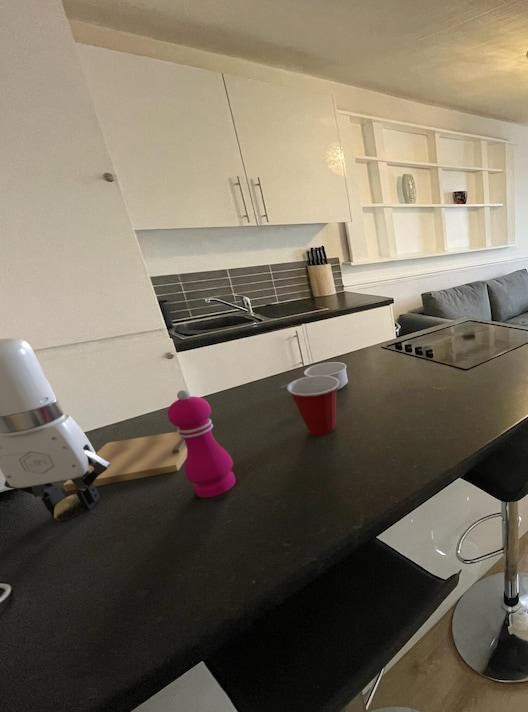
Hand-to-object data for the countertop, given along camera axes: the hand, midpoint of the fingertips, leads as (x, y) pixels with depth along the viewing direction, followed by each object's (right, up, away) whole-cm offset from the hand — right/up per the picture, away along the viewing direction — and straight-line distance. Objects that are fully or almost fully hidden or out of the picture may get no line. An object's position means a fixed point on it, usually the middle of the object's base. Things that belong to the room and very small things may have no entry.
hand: (76, 507), depth 72 cm
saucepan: (+23, +18, +44) cm, 53 cm away
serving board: (-1, +6, +14) cm, 16 cm away
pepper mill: (+21, +2, +5) cm, 22 cm away
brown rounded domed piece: (0, 0, 0) cm, 1 cm away
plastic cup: (+33, +10, +24) cm, 42 cm away
